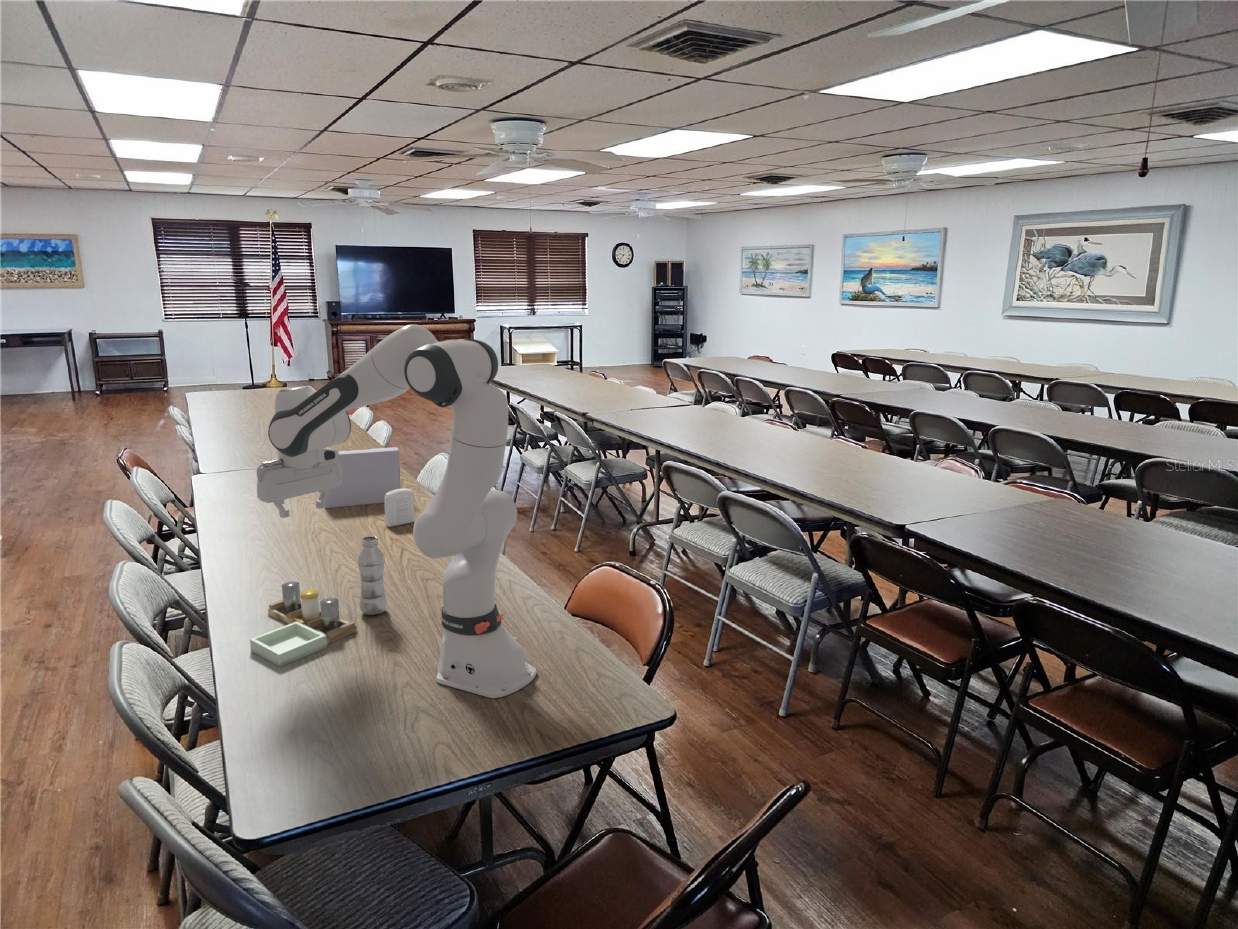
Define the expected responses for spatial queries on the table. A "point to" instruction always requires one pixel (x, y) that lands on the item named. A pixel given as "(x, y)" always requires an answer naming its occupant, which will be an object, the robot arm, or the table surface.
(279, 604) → the rack
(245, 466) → the table surface
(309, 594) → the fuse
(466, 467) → the robot arm
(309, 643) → the tray
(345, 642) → the table surface
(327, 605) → the canister
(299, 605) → the canister
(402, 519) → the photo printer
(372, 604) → the plastic bottle
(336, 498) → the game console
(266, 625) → the table surface
